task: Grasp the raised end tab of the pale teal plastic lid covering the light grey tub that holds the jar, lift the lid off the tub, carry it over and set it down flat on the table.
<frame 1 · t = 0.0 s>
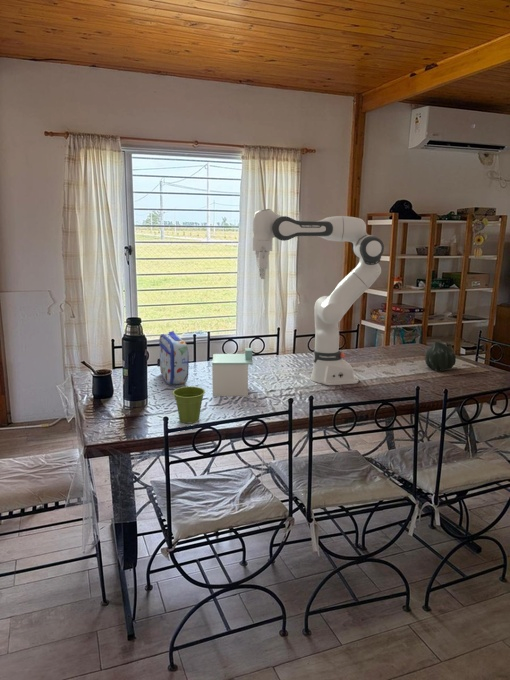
hand: (262, 277, 227), 48 cm above the table, fingers open, 8 cm apart
lunch box: (173, 379, 237), on the table
jar: (230, 391, 222), resting in tub
tub: (230, 390, 222), on the table
squash: (439, 369, 258), on the table
lid: (230, 359, 219), point 14 cm above the table, touching tub
plant pot: (189, 420, 188), on the table
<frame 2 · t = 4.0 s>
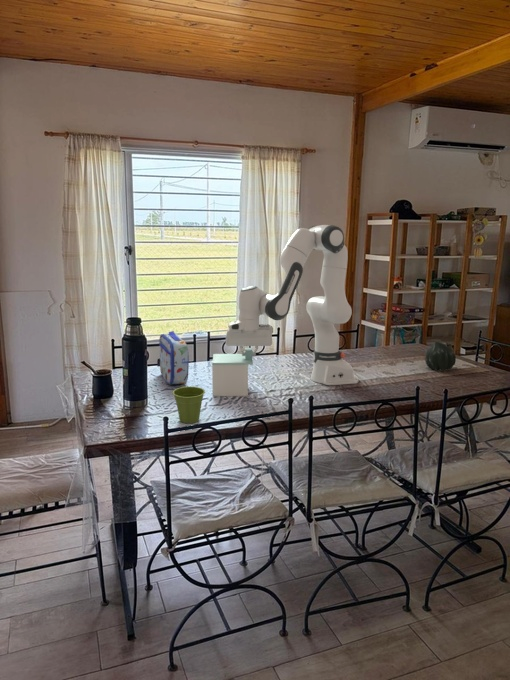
hand: (248, 355, 218), 16 cm above the table, fingers closed on lid, 3 cm apart
lid: (230, 359, 219), point 14 cm above the table, touching gripper, tub
everything else where it was.
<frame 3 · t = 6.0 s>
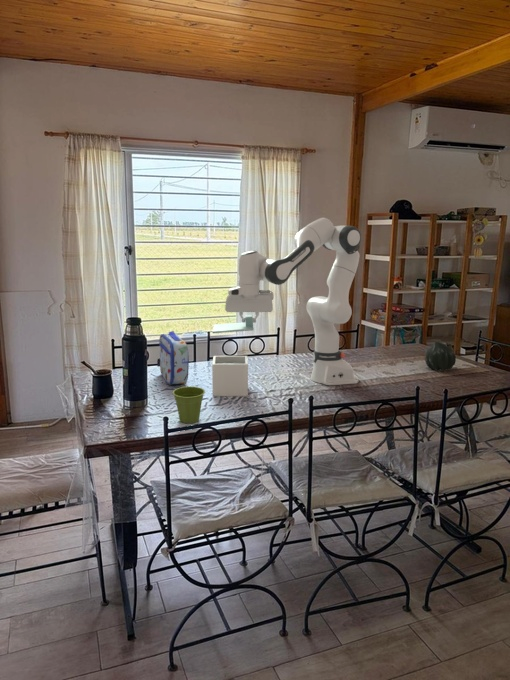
hand: (248, 322, 215), 31 cm above the table, fingers closed on lid, 3 cm apart
lid: (230, 328, 215), point 28 cm above the table, touching gripper
everything else where it was.
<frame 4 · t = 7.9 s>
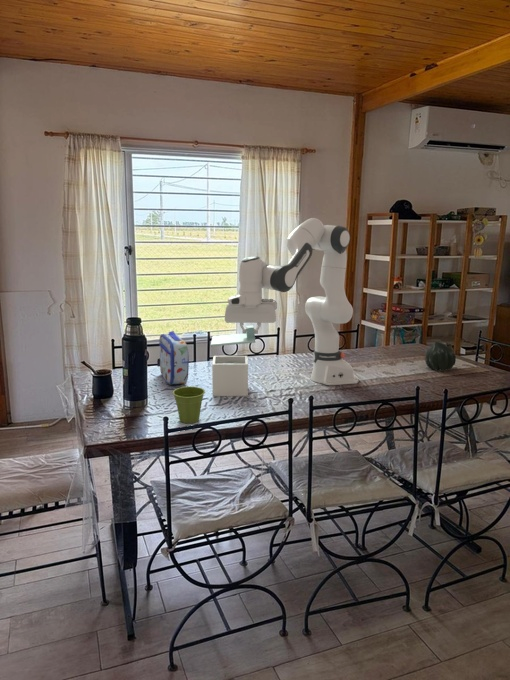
hand: (250, 333, 199), 29 cm above the table, fingers closed on lid, 3 cm apart
lid: (230, 340, 199), point 27 cm above the table, tilted 5°, touching gripper
everything else where it was.
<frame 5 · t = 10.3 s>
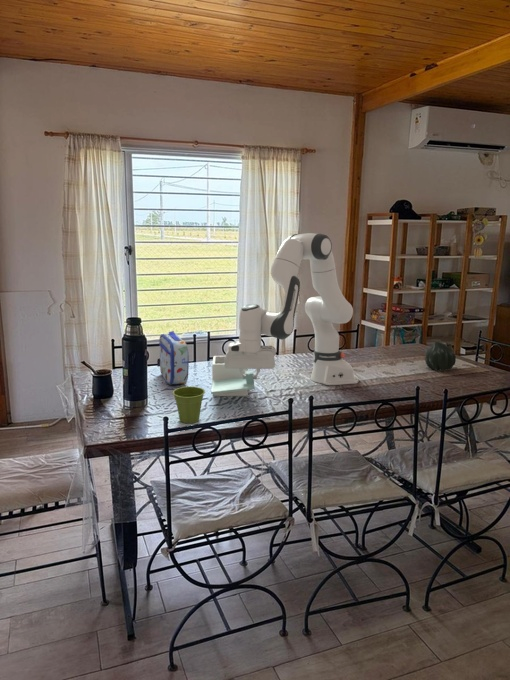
hand: (249, 378, 203), 11 cm above the table, fingers closed on lid, 3 cm apart
lid: (230, 385, 203), point 8 cm above the table, tilted 6°, touching gripper
everything else where it was.
when the fingers open (4 cm above the table, at t = 12.3 s): lid drops 2 cm, on the table.
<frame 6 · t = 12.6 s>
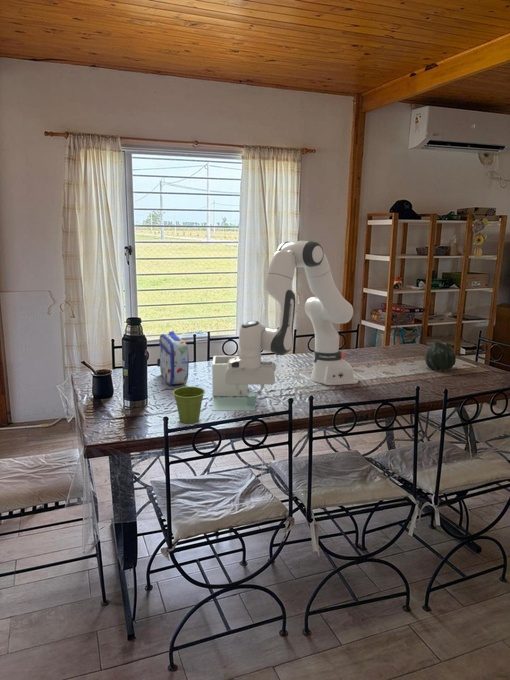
hand: (249, 394, 205), 4 cm above the table, fingers open, 6 cm apart
lid: (231, 405, 205), on the table
everything else where it was.
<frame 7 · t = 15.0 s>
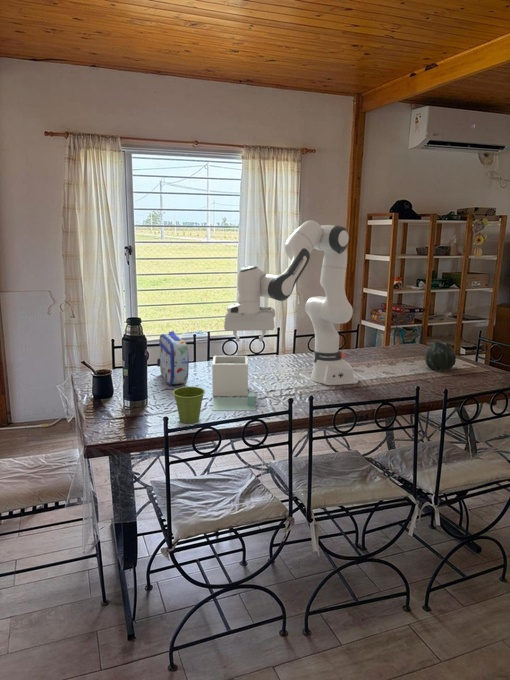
hand: (249, 341, 204), 25 cm above the table, fingers open, 8 cm apart
nothing on the table moved.
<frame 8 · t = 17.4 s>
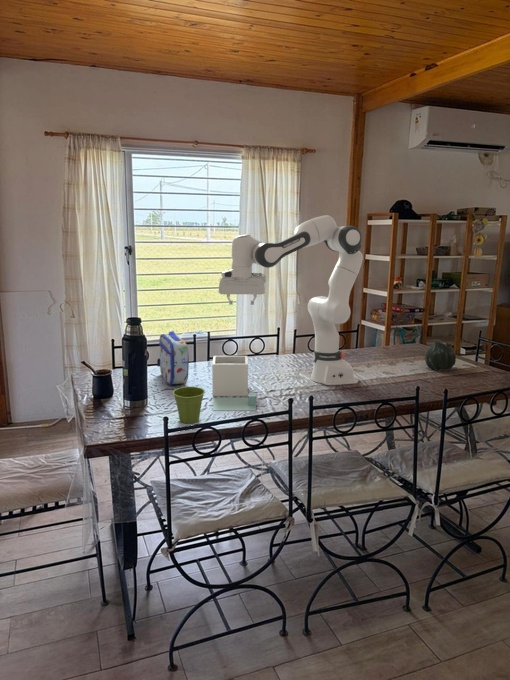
hand: (241, 304, 221), 37 cm above the table, fingers open, 8 cm apart
nothing on the table moved.
at the end: lid inside the target area (2.2 cm from its centre), on the table; lid touching table; lid tilted 0° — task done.
